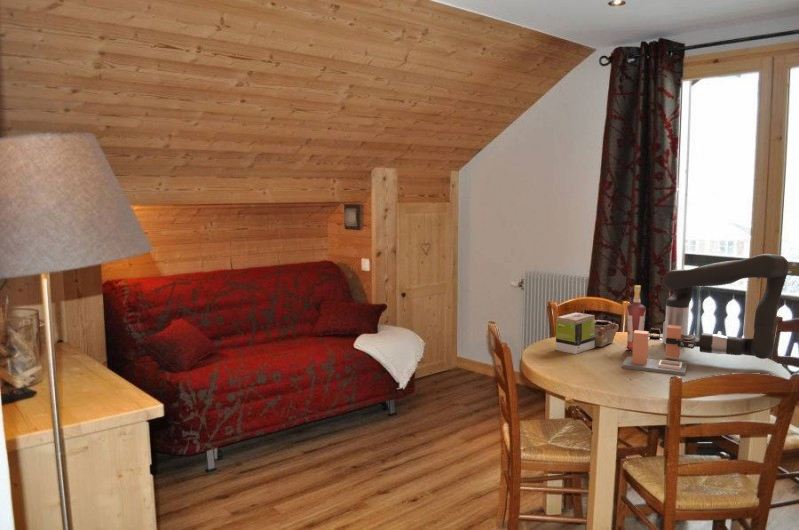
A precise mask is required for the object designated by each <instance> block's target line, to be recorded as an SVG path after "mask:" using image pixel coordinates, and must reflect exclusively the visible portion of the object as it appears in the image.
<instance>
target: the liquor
mask: <svg viewBox="0 0 799 530" xmlns="http://www.w3.org/2000/svg"><path fill="white" fill-rule="evenodd" d="M641 290H642V285H640V284H639V285H637V284H636V285H633V292H634V294H633V300H632V303H631V304H628V305H627V307H626V308H627V312H626V314H627V315H626V316H627V317H626V318H627V320H626V321H627V322H626V323H627V343H626V347H625V348H626V349H627V350H628V351H629V352H631V353H633V333H634V331H635V330H639V331H645V329H644V328H645V321H646V311H647V310H646V309H647V307H646V306H645V305H643V304H641Z"/></svg>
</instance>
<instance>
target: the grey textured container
mask: <svg viewBox="0 0 799 530" xmlns="http://www.w3.org/2000/svg"><path fill="white" fill-rule="evenodd" d="M619 329H620V327H619V324H617V323H616V322H613V321H609V320H604V319H603V320H602V319H595V339H594V340H595V346H594V348H596V347H600V348H601V347H604V346H606V345H609V344H611V343H614V340H615V336H616V333H617V331H619Z"/></svg>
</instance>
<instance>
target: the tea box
mask: <svg viewBox="0 0 799 530" xmlns="http://www.w3.org/2000/svg"><path fill="white" fill-rule="evenodd" d="M595 320H596V316H595V314H590V313H589V314H588V313H581V312H572V313H568V314H564V315H559V316H556V317H555V350H556V351H557V352H564V353H568V354H573V355H576V354H579V353H583V352H586V351H588V350H591V349H595V347H594V346H595V340H594V339H595Z"/></svg>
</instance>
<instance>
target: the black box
mask: <svg viewBox="0 0 799 530" xmlns="http://www.w3.org/2000/svg"><path fill="white" fill-rule="evenodd" d="M653 334H656V335H653ZM661 334H662V332H661V328H657V327H656V328H655V327H651V328H650V329H649V336H648V340H656V341H663V336H661Z"/></svg>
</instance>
